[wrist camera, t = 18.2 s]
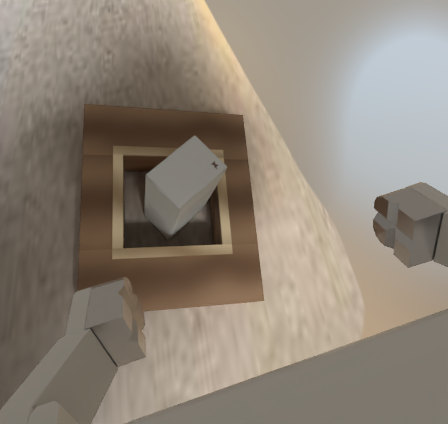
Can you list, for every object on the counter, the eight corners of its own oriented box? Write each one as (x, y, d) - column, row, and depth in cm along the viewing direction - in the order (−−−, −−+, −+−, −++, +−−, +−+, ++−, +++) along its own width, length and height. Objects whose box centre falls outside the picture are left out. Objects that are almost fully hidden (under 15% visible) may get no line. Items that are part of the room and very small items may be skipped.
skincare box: (179, 183, 40) (196, 132, 29) (204, 207, 40) (230, 166, 29) (141, 215, 38) (143, 173, 27) (167, 241, 38) (180, 211, 27)
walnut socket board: (251, 302, 38) (265, 300, 34) (83, 316, 33) (76, 316, 29) (233, 131, 44) (243, 113, 40) (89, 123, 39) (84, 102, 35)
